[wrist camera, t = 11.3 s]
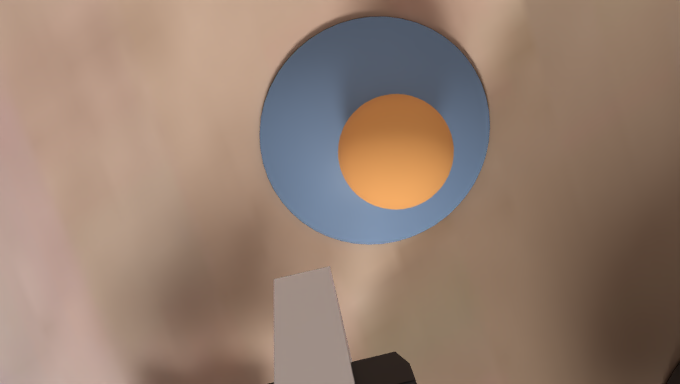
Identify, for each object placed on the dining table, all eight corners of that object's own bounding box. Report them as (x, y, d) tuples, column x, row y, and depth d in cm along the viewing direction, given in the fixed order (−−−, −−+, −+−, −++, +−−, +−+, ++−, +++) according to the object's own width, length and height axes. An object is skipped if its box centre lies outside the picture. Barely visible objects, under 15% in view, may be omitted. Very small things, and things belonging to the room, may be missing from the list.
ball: (312, 120, 26) (355, 76, 31) (328, 225, 29) (365, 171, 33) (436, 124, 24) (463, 77, 29) (441, 238, 27) (465, 178, 31)
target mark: (473, -7, 30) (474, -7, 29) (500, 215, 34) (501, 216, 33) (233, 45, 29) (232, 46, 29) (289, 264, 33) (289, 266, 33)
